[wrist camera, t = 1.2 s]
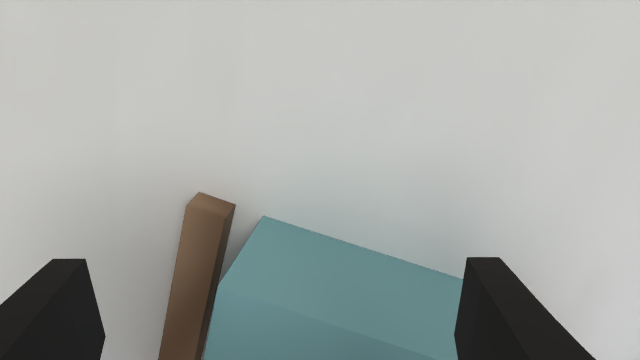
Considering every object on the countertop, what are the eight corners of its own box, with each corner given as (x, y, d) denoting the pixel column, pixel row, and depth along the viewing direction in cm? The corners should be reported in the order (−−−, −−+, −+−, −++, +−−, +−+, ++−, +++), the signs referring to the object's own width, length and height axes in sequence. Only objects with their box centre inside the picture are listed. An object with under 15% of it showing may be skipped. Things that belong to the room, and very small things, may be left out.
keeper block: (468, 278, 23) (469, 370, 18) (419, 394, 25) (410, 498, 21) (264, 213, 23) (217, 286, 19) (238, 332, 26) (191, 420, 21)
